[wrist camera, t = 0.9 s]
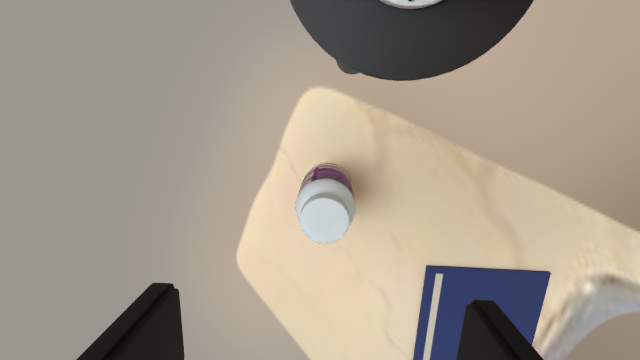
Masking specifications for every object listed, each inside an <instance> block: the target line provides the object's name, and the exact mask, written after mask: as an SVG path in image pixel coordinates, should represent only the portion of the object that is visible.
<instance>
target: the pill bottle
mask: <svg viewBox="0 0 640 360" xmlns="http://www.w3.org/2000/svg"><path fill="white" fill-rule="evenodd" d="M295 210H296V215H297V218H298V220H299V222H300V226H301V229H302V231H303V232H304V234H305V235H306V236H307V237H308V238H309V239H311V240H312V241H315V242H317V243H321V244H328V243H333V242H335V241H337V240H339V239H340V238H342V237H343V236H344V235H345V233H346V232H347V230H348V227H349V225H350V224H351V222H352V220H353V218H354V214H355V200H354V196H353V191H352V186H351V182H350V179H349V177H348V175H347V174H346V172H345V171H344V170H343V169H341V168H340V167H338V166H336V165H333V164H320V165H317V166H315V167H314V168H312V169H311V170H310V171H309V172H308V173H307V174H306V176H305V178H304V180H303V183H302V185H301V188H300V191H299V193H298V196H297V200H296V205H295Z"/></svg>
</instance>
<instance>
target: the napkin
mask: <svg viewBox="0 0 640 360" xmlns="http://www.w3.org/2000/svg"><path fill="white" fill-rule="evenodd" d="M550 274H551V273H550V272H544V271H524V270H504V269H484V268H464V267H444V266H426V273H425V280H424V287H423V294H422V301H421V308H420V315H419V322H418V330H417V337H416V344H415V351H414V358H413V360H456V359H457V353H458V348H459V342H460V336H461V331H462V325H463V320H464V314H465V308H466V305H467V304H471V302H472V300H474V299H477V300H492V301H494V302H495V303H496V304H497V305H498V306H499V307H500V309H501V310H502V311H503V312H504V313H505V315H506V316H507V317H508V318H509V319H510V320H511V322H512V323H513V324H514V325H515V326H516V328H517V329H518V330H519V331H520V332H521V334H522V335H523V336H524V337H525V338H526V340H527V341H528V342H529V343H530V344H531V345H532V343H533V339H534V335H535V331H536V327H537V324H538V320H539V316H540V312H541V308H542V305H543V301H544V297H545V293H546V289H547V286H548V282H549V278H550Z"/></svg>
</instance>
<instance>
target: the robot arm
mask: <svg viewBox="0 0 640 360" xmlns="http://www.w3.org/2000/svg"><path fill="white" fill-rule="evenodd" d="M380 1H381V2H383V3H385V4H387V5H390V6H394V7H397V8H404V9H417V8H424V7H427V6H430V5H433V4H436V3H438V2H440V1H442V0H412V1H411V2H410V1H408V0H380ZM77 360H184V346H183V335H182V322H181V311H180V299H179V291H178V289H175V288H174V286H173V284H170V283H153V284H152V285H150V286H149V287H148V288H147V289H146V290H145V291H144V292H143V293H142V294H141V295H140V296H139V297H138V298H137V299H136V300H135V301H134V302H133V303H132V304H131V305H130V306H129V307H128V308H127V310H125V311H124V312H123V313H122V314H121V315H120V316H119V317H118V318H117V319H116V320H115V321H114V322H113V323H112V324H111V325H110V326H109V327H108V328H107V329H106V330H105V332H103V333H102V334H101V336H100V337H98V338H97V340H96V341H94V342H93V344H92V345H91V346H90V347H89V348H88V349H87V350H86V351H85V352H84V353H83V354H82V355H81V356H80V357H79V358H78V359H77ZM456 360H543V359H542V357H541V356H540V355H539V354H538V353H537V351H536V350H535V349H534V348H533V347H532V345H531V344H530V343H529V342H528V341H527V340H526V338H525V337H524V336H523V335H522V334H521V332H520V331H519V330H518V329H517V328H516V326H515V325H514V324H513V323H512V322H511V320H510V319H509V318H508V317H507V316H506V315H505V313H504V312H503V311H502V310H501V309H500V307H499V306H498V305H497V304H496V303H495V302H494V301H492V300H477V299H474V300H472V302H471V304H467V305H466V308H465V314H464V320H463V325H462V331H461V336H460V342H459V348H458V353H457V359H456Z"/></svg>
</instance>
